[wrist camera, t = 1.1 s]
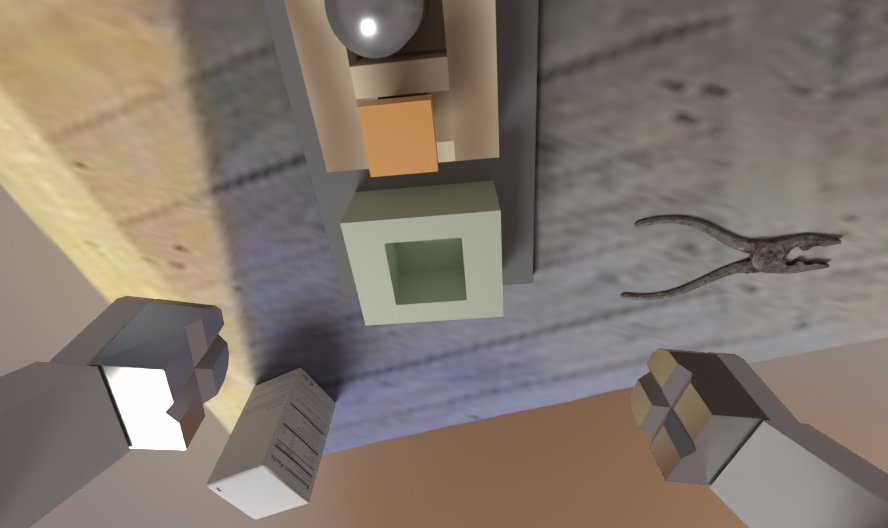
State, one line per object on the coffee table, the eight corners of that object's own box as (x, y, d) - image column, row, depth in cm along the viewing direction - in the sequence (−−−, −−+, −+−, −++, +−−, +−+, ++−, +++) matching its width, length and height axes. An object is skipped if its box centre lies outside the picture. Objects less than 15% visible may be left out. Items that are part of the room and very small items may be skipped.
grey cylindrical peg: (424, -37, 27) (410, -56, 17) (431, 33, 29) (422, 53, 19) (363, -30, 28) (313, -45, 17) (374, 39, 30) (336, 62, 20)
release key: (433, 82, 27) (430, 100, 23) (439, 143, 29) (438, 171, 25) (372, 88, 28) (357, 107, 23) (383, 148, 30) (370, 177, 25)
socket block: (484, -92, 27) (492, -112, 21) (491, 133, 34) (499, 157, 29) (297, -69, 27) (262, -84, 22) (345, 146, 35) (327, 172, 30)
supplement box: (291, 420, 55) (253, 522, 44) (253, 384, 51) (201, 486, 41) (338, 403, 53) (310, 505, 42) (302, 365, 50) (261, 466, 39)
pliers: (618, 227, 39) (859, 175, 36) (615, 223, 40) (851, 171, 37) (622, 308, 44) (834, 267, 41) (619, 302, 45) (827, 262, 42)
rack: (493, 180, 36) (500, 210, 31) (496, 277, 41) (503, 316, 36) (355, 192, 37) (340, 223, 32) (375, 285, 42) (365, 325, 37)
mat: (538, -138, 26) (541, -142, 25) (530, 277, 43) (532, 282, 42) (240, -100, 27) (234, -102, 26) (345, 290, 44) (343, 296, 43)
